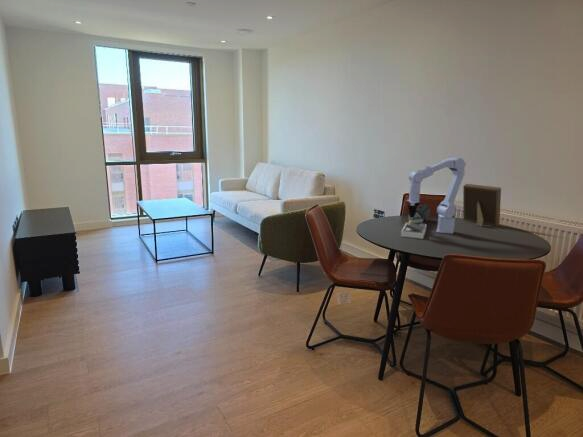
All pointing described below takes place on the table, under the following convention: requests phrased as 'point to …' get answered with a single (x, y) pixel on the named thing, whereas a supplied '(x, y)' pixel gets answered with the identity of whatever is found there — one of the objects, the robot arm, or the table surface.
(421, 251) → the table surface
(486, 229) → the table surface
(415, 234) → the switch panel
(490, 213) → the photo frame
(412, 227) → the near rocker
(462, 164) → the robot arm
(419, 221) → the far rocker
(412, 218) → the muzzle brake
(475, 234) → the table surface
